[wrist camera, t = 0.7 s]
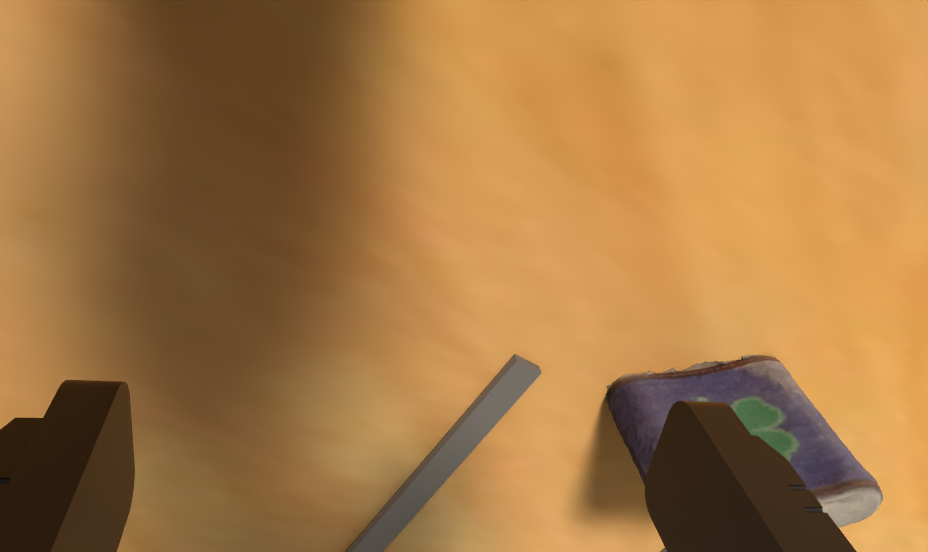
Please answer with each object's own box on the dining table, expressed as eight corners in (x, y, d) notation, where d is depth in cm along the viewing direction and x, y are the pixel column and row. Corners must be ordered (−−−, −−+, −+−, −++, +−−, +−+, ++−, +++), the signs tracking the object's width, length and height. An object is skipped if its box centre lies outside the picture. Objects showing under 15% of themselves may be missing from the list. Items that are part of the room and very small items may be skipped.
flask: (783, 348, 37) (922, 519, 28) (774, 392, 39) (903, 567, 30) (604, 375, 37) (688, 558, 28) (602, 418, 38) (681, 605, 29)
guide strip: (514, 354, 35) (516, 360, 35) (539, 366, 36) (541, 373, 35) (341, 556, 41) (341, 563, 40) (365, 563, 42) (365, 571, 41)
